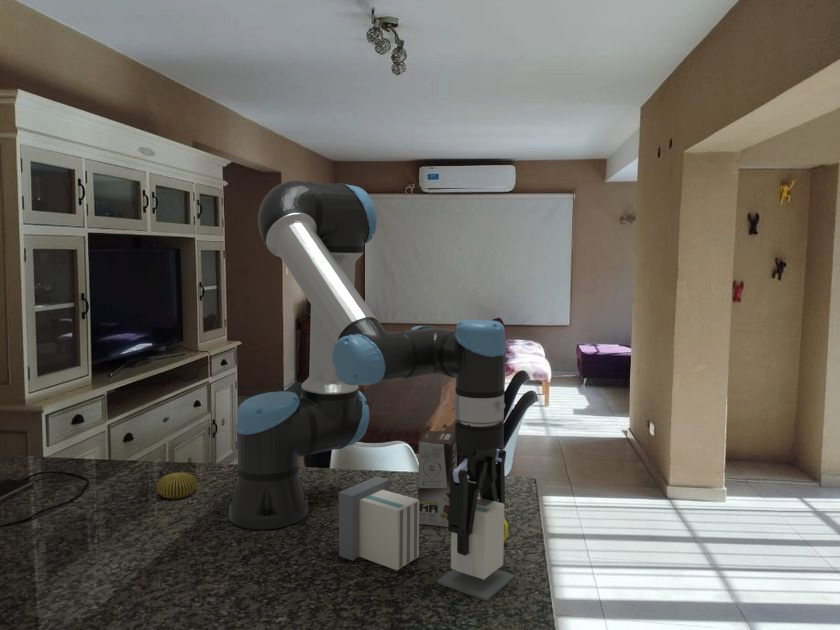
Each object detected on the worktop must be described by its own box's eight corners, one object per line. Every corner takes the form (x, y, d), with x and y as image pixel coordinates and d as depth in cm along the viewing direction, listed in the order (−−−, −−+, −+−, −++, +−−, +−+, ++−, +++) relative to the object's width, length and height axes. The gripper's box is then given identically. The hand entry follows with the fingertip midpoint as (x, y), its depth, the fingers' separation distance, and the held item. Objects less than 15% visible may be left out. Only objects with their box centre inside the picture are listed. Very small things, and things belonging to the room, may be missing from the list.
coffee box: (450, 527, 125) (451, 444, 123) (416, 524, 126) (417, 441, 124) (457, 509, 134) (458, 431, 132) (425, 506, 135) (426, 428, 133)
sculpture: (193, 467, 145) (200, 478, 138) (193, 485, 146) (200, 497, 139) (154, 473, 142) (159, 485, 135) (154, 491, 142) (160, 504, 135)
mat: (436, 583, 104) (436, 580, 104) (467, 561, 111) (467, 559, 111) (486, 601, 99) (486, 598, 99) (515, 577, 106) (515, 575, 106)
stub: (450, 568, 104) (451, 506, 103) (470, 554, 109) (471, 494, 108) (484, 579, 100) (485, 515, 100) (503, 564, 105) (504, 503, 104)
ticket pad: (334, 554, 113) (334, 491, 112) (371, 534, 121) (372, 475, 120) (389, 575, 106) (390, 507, 105) (425, 552, 114) (426, 489, 113)
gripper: (467, 438, 93) (465, 596, 95) (529, 412, 108) (525, 548, 110) (423, 429, 97) (422, 581, 99) (489, 405, 112) (486, 537, 114)
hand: (477, 563), depth 105 cm, fingers closed on stub, 6 cm apart
